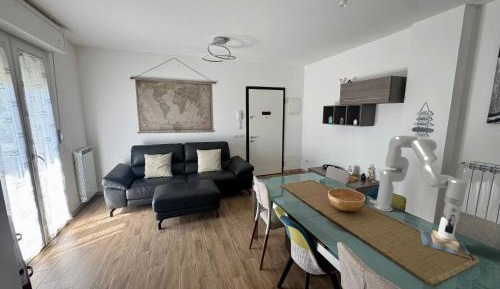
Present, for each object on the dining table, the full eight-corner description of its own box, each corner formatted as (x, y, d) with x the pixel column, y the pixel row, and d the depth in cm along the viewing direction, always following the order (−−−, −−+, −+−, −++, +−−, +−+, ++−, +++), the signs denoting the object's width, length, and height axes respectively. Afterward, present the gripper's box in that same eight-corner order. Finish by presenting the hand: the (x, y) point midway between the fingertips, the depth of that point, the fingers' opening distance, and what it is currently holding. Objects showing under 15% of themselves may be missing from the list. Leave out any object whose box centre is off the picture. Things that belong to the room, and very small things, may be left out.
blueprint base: (423, 245, 118) (424, 237, 117) (419, 231, 133) (421, 224, 132) (472, 260, 107) (474, 252, 106) (462, 243, 122) (464, 236, 121)
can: (447, 241, 115) (452, 221, 113) (434, 234, 121) (438, 215, 119) (455, 239, 117) (460, 220, 115) (442, 233, 123) (446, 214, 121)
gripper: (467, 208, 107) (459, 239, 109) (458, 197, 121) (452, 225, 124) (448, 203, 111) (441, 233, 114) (441, 194, 125) (435, 221, 128)
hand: (446, 229), depth 119 cm, fingers open, 7 cm apart
